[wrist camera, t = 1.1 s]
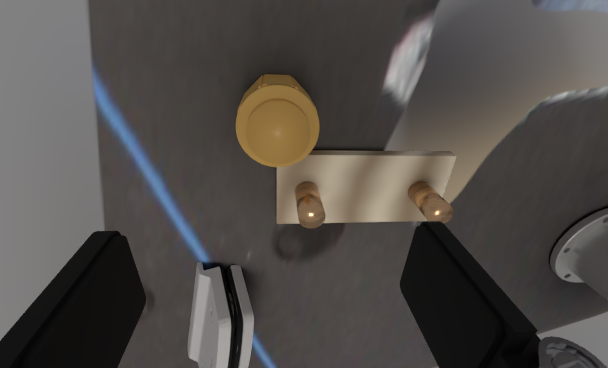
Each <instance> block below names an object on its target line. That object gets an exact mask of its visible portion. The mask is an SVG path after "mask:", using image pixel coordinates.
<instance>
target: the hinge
mask: <svg viewBox="0 0 608 368" xmlns="http://www.w3.org/2000/svg"><path fill="white" fill-rule="evenodd" d="M253 329H254V315H253V311H252V307H251V303H250V300H249V296H248V292H247V289H246V285H245V281H244V278H243V274H242V270H241V267H240V266H238V265H231V267H230V269H227V274H226V279H225V274H224V270H220V267H216V268H212V269H208V270H203V265H202V262H197V269H196V278H195V286H194V295H193V303H192V312H191V320H190V329H189V337H188V355H189V358H190V359H192V360H195V361H197V362H198V365H199V368H248V365H249V360H250V355H251V349H252V340H253Z"/></svg>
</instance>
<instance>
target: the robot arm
mask: <svg viewBox="0 0 608 368" xmlns="http://www.w3.org/2000/svg"><path fill="white" fill-rule="evenodd" d="M550 266H551V268H552V271H553V272H554V273H555V274H556V275H558V276H559V277H560V278H561V279H563V280H565V281H568V282H585V283H586V284H587V285H588V286H590V287H591V288H592V289H593V290H595V291H596V292H597V293H598V294H599V295H601V296H602V297H603V298H604V299H606V300H607V301H608V208H607V209H604V210H601V211H598V212H596V213H594V214H592V215H590V216H588V217H586V218H584V219H583V220H581V221H580V222H578V223H577V224H576V225H574V226H573V227H572V228H571V229H569V230H568V231H567V232H566V233H565V234H564V235H563V236H562V237H561V239H560V240H559V241H558V243H557V244H556V246H555V247H554V249H553V251H552V254H551V258H550ZM400 288H401V291H402V294H403V296H404V298H405V300H406V302H407V304H408V306H409V308H410V310H411V312H412V314H413V316H414V318H415V320H416V322H417V324H418V326H419V328H420V330H421V332H422V334H423V336H424V338H425V340H426V342H427V344H428V346H429V348H430V350H431V352H432V354H433V356H434V358H435V360H436V362H437V364H438V366H439V368H607V367H606V366H605V365H604V364H603V363H602V362H601V361H600V360H599V359H598V358H597V357H596V356H594V355H593V354H592V353H590V352H589V351H588V350H586V349H585V348H583V347H581V346H579V345H578V344H576V343H574V342H572V341H569V340H566V339H563V338H560V337H545V338H543V339H542V340H540V339H539V337H538V336H537V335H536V334H535V333H536V332H537V331H538V330H537V329H536V328H535V327H534V326H533V325H532V323H531V322H530V321H529V320H528V319H527V318H526V317H525V316H524V314H523V313H522V312H521V311H520V310H519V309H518V308H517V306H516V305H515V304H514V303H513V302H512V301H511V300H510V299H509V297H508V296H507V295H506V294H505V293H504V292H503V291H502V289H501V288H500V287H499V286H498V285H497V284H496V283H495V282H494V280H493V279H492V278H491V277H490V276H489V275H488V274H487V272H486V271H485V270H484V269H483V268H482V267H481V266H480V264H479V263H478V262H477V261H476V260H475V259H474V258H473V257H472V255H471V254H470V253H469V252H468V251H467V250H466V249H465V247H464V246H463V245H462V244H461V243H460V242H459V241H458V240H457V238H456V237H455V236H454V235H453V234H452V233H451V232H450V230H449V229H448V228H447V227H446V226H445V225H444V224H443V223H442V222H440V221H429V222H422V223H421V225H420V226H417V227H416V229H415V233H414V236H413V240H412V243H411V246H410V250H409V253H408V257H407V260H406V263H405V267H404V270H403V274H402V277H401V280H400ZM145 303H146V295H145V292H144V289H143V286H142V283H141V280H140V277H139V274H138V271H137V268H136V265H135V262H134V259H133V256H132V253H131V250H130V247H129V244H128V241H127V238H126V237H125V236H123V235H121V234H120V233H119V232H118V231H97V232H94V233H93V234H91V236H90V237H89V238H88V239H87V240H86V241H85V243H84V244H83V245H82V246H81V247H80V248H79V250H78V251H77V252H76V253H75V254H74V255H73V257H72V258H71V259H70V260H69V261H68V263H67V264H66V265H65V266H64V267H63V268H62V270H61V271H60V272H59V273H58V274H57V276H56V277H55V278H54V279H53V280H52V281H51V282H50V284H49V285H48V286H47V287H46V288H45V289H44V290H43V292H42V293H41V294H40V295H39V296H38V297H37V299H36V300H35V301H34V302H33V303H32V304H31V306H30V307H29V308H28V309H27V310H26V311H25V313H24V314H23V315H22V316H21V317H20V319H19V320H18V321H17V322H16V323H15V325H14V326H13V327H12V328H11V329H10V330H9V331H8V332H7V334H6V335H5V336H4V337H3V338H2V339H1V341H0V368H117V367H118V365H119V363H120V360H121V358H122V356H123V354H124V352H125V349H126V347H127V345H128V343H129V340H130V338H131V336H132V334H133V331H134V329H135V327H136V325H137V322H138V320H139V318H140V316H141V313H142V311H143V309H144V306H145Z"/></svg>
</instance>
